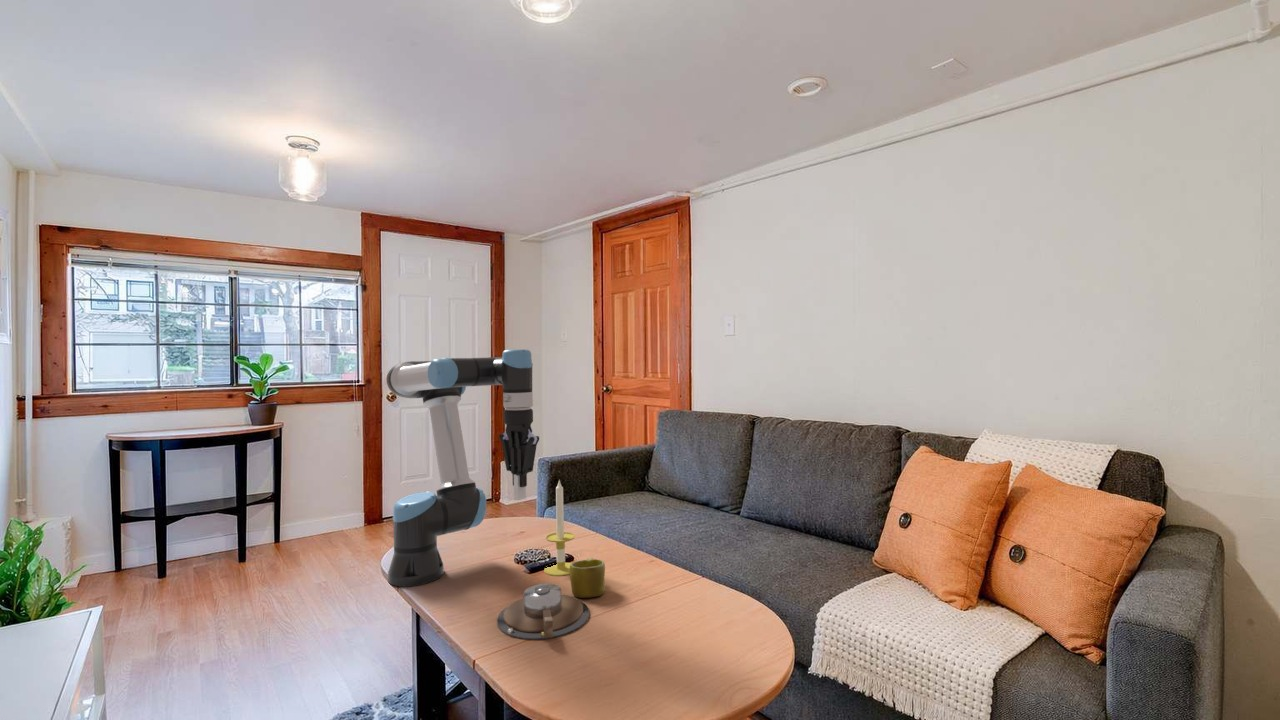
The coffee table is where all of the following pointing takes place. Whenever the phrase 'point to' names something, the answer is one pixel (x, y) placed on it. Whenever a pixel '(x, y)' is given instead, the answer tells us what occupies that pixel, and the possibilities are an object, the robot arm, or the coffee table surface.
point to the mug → (587, 578)
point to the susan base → (541, 635)
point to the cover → (542, 600)
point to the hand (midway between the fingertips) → (520, 498)
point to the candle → (559, 538)
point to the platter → (544, 617)
